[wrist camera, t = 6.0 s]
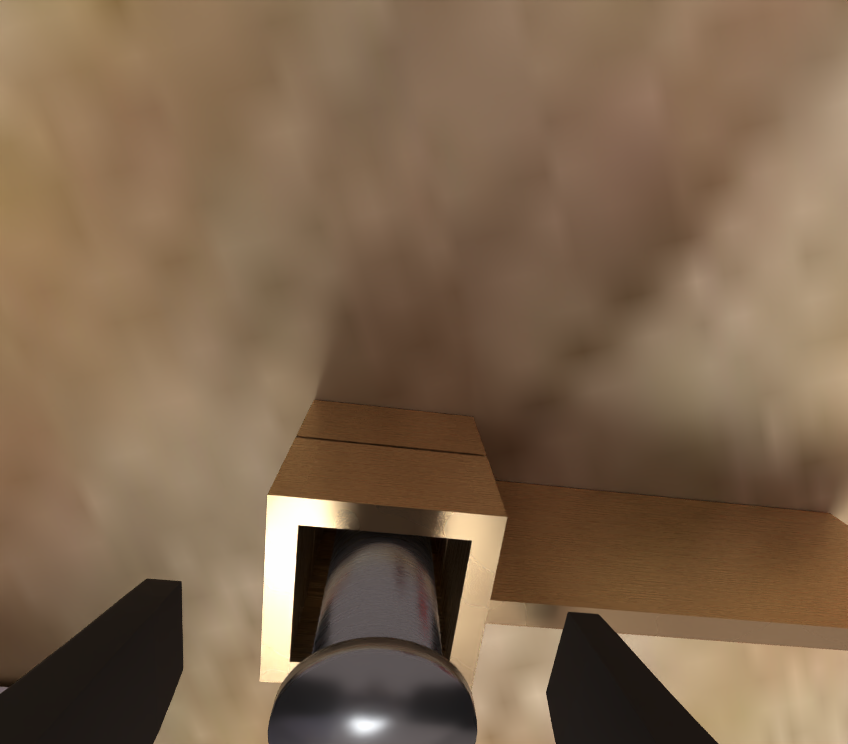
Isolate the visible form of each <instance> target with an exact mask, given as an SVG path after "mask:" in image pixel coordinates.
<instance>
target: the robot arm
mask: <svg viewBox="0 0 848 744" xmlns="http://www.w3.org/2000/svg"><path fill="white" fill-rule="evenodd" d="M182 671H183V629H182V581H170V580H157V579H146V580H145V581H143V582H142V583H141V584H139V585H138V586H137V587H135V588H134V589H133V590H132V591H130V592H129V593H128V594H127V595H125V596H124V597H123V598H122V599H120V600H119V601H118V602H117V603H115V604H114V605H113V606H112V607H110V608H109V609H108V610H107V611H105V612H104V613H103V614H102V615H100V616H99V617H98V618H97V619H96V620H94V621H93V622H92V623H91V624H89V625H88V626H87V627H86V628H84V629H83V630H82V631H81V632H79V633H78V634H77V635H76V636H74V637H73V638H72V639H71V640H69V641H68V642H67V643H65V644H64V645H63V646H62V647H60V648H59V649H58V650H56V651H55V652H54V653H53V654H51V655H50V656H49V657H47V658H46V659H45V660H44V661H42V662H41V663H40V664H38V665H37V666H36V667H35V668H33V669H32V670H31V671H29V672H28V673H27V674H26V675H24V676H23V677H22V678H20V679H19V680H18V681H16V682H15V683H14V684H12V685H11V686H10V687H0V744H153V742H154V740H155V738H156V736H157V734H158V732H159V730H160V727H161V725H162V722H163V720H164V717H165V715H166V712H167V710H168V707H169V705H170V702H171V700H172V697H173V695H174V692H175V689H176V687H177V684H178V681H179V679H180V676H181V674H182ZM546 695H547V700H548V706H549V711H550V717H551V722H552V727H553V732H554V737H555V742H556V744H718V743H717V742H716V741H715V740H714V739H713V738H712V737H711V736H710V735H709V734H708V732H707V731H706V730H705V729H704V728H703V727H702V726H701V725H700V724H699V723H698V722H697V721H696V720H695V719H694V718H693V717H692V716H691V715H690V714H689V713H688V711H687V710H686V709H685V708H684V707H683V706H682V705H681V704H680V703H679V702H678V701H677V700H676V699H675V697H674V696H673V695H672V694H671V693H670V692H669V691H668V690H667V689H666V688H665V687H664V685H663V684H662V683H661V682H660V681H659V680H658V679H657V678H656V677H655V676H654V674H653V673H652V672H651V671H650V670H649V669H648V668H647V667H646V666H645V664H644V663H643V662H642V661H641V660H640V659H639V658H638V657H637V656H636V654H635V653H634V652H633V651H632V650H631V649H630V648H629V647H628V646H627V644H626V643H625V642H624V641H623V640H622V639H621V638H620V637H619V635H618V634H617V633H616V632H615V631H614V630H613V629H612V628H611V627H610V626H609V624H608V623H607V622H606V621H605V620H604V619H603V618H602V617H601V616H600V615H599V614H593V613H580V612H568V613H567V617H566V620H565V624H564V628H563V631H562V635H561V639H560V643H559V646H558V650H557V654H556V657H555V661H554V665H553V669H552V672H551V676H550V680H549V683H548V687H547V691H546Z"/></svg>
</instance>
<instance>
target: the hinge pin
mask: <svg viewBox="0 0 848 744" xmlns="http://www.w3.org/2000/svg"><path fill="white" fill-rule="evenodd" d="M476 736H477V720H476V713H475V707H474V701H473V696H472V692H471V690H470V687H469V685H468V683H467V681H466V679H465V678H464V676H463V674H462V673H461V672H460V671H459V670H458V669H457V667H456V666H455V665H454V664H453V663H451V662H450V661H449V660H448V659H447V658H445V657H444V656H442V647H441V637H440V627H439V616H438V606H437V596H436V586H435V576H434V566H433V556H432V546H431V537H428V536H417V535H406V534H394V533H383V532H372V531H360V530H349V529H337V530H336V535H335V540H334V546H333V551H332V556H331V561H330V566H329V571H328V576H327V581H326V586H325V591H324V596H323V601H322V606H321V611H320V616H319V621H318V626H317V631H316V636H315V641H314V646H313V651H312V654H311V655H310V656H308V657H307V658H305V659H304V660H303V661H301V662H300V663H299V664H298V665H297V666H296V667H295V668H294V669H293V670H292V671H291V672H290V673H289V674H288V675H287V677H286V678H285V679H284V681H283V682H282V684H281V686H280V688H279V690H278V692H277V695H276V698H275V701H274V705H273V709H272V713H271V716H270V720H269V727H268V743H269V744H475V742H476Z"/></svg>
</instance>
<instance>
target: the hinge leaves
mask: <svg viewBox="0 0 848 744" xmlns="http://www.w3.org/2000/svg"><path fill="white" fill-rule="evenodd" d="M337 529H349V530H360V531H372V532H383V533H394V534H406V535H417V536H428V537H431V546H432V556H433V566H434V576H435V586H436V596H437V606H438V616H439V627H440V637H441V647H442V656H444V657H445V658H447V659H448V660H449V661H450V662H451V663H453V664H454V665H455V666H456V667H457V669H458V670H459V671H460V672H461V673H462V674H463V676H464V678H465V679H466V681H467V683H468V685H469V687H470V690H471V689H472V684H473V680H474V675H475V670H476V665H477V660H478V656H479V651H480V646H481V641H482V637H483V632H484V627H485V623H488V624H501V625H515V626H528V627H541V628H554V629H563V628H564V624H565V620H566V617H567V613H568V612H580V613H593V614H599V615H600V616H601V617H602V618H603V619H604V620H605V621H606V622H607V623H608V624H609V626H610V627H611V628H612V629H613V630H614V631H615V632H616V633H621V634H634V635H648V636H661V637H674V638H687V639H701V640H714V641H727V642H741V643H754V644H767V645H780V646H794V647H807V648H820V649H834V650H847V651H848V525H846V524H845V523H843V522H842V521H841V520H839V519H838V518H836V517H835V516H833V515H832V514H831V513H822V512H812V511H802V510H792V509H781V508H771V507H761V506H751V505H741V504H730V503H720V502H710V501H700V500H689V499H679V498H669V497H659V496H648V495H638V494H628V493H618V492H607V491H597V490H587V489H577V488H566V487H556V486H546V485H536V484H525V483H515V482H505V481H495V479H494V476H493V473H492V470H491V467H490V464H489V461H488V458H487V457H486V453H485V450H484V447H483V444H482V441H481V438H480V435H479V432H478V429H477V426H476V423H475V420H474V418H473V417H471V416H461V415H452V414H443V413H433V412H424V411H415V410H405V409H396V408H387V407H377V406H368V405H359V404H349V403H340V402H330V401H321V400H314V401H313V403H312V405H311V407H310V409H309V411H308V413H307V415H306V417H305V419H304V421H303V424H302V426H301V428H300V430H299V432H298V434H297V436H296V438H295V440H294V442H293V444H292V446H291V448H290V450H289V452H288V454H287V456H286V458H285V460H284V462H283V464H282V466H281V468H280V470H279V472H278V474H277V476H276V478H275V480H274V483H273V485H272V487H271V489H270V491H269V493H268V495H267V518H266V543H265V568H264V592H263V617H262V642H261V667H260V681H261V682H277V683H282V682H283V681H284V679H285V678H286V677H287V675H288V674H289V673H290V672H291V671H292V670H293V669H294V668H295V667H296V666H297V665H298V664H299V663H300V662H301V661H303V660H304V659H305V658H307V657H308V656H310V655H311V654H312V651H313V646H314V641H315V636H316V631H317V626H318V621H319V616H320V611H321V606H322V601H323V596H324V591H325V586H326V581H327V576H328V571H329V566H330V561H331V556H332V551H333V546H334V540H335V535H336V530H337Z"/></svg>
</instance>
